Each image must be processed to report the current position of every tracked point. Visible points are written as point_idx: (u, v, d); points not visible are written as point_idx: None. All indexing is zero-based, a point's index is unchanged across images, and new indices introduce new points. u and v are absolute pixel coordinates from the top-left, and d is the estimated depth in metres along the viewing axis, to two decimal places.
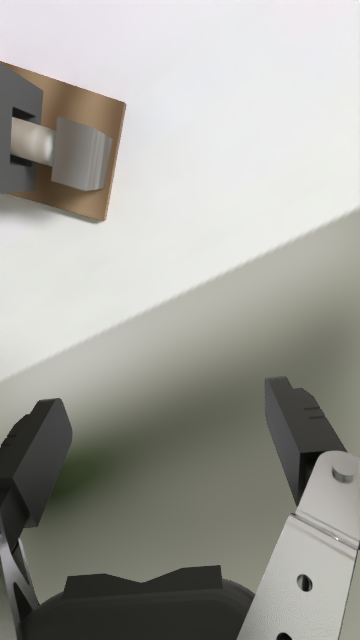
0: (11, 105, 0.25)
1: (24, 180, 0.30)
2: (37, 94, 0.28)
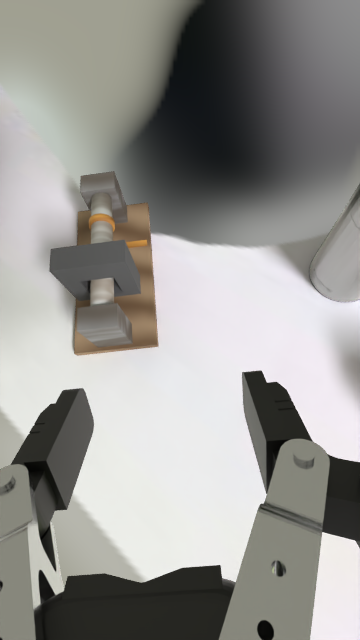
0: (113, 276, 0.39)
1: (79, 292, 0.42)
2: (135, 290, 0.43)
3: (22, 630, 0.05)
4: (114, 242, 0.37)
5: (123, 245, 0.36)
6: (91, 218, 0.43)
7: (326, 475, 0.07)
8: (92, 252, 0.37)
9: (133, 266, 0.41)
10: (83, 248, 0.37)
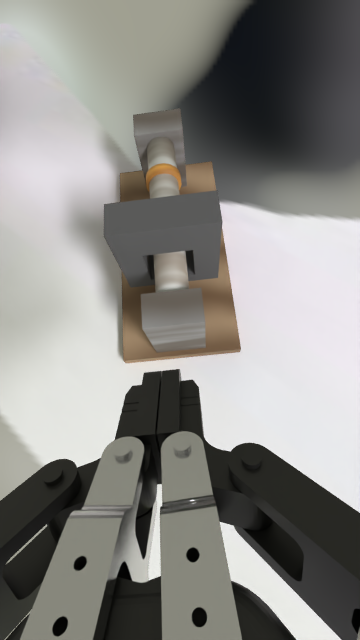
0: (193, 248, 0.26)
1: (135, 274, 0.29)
2: (212, 272, 0.30)
3: (83, 628, 0.05)
4: (201, 194, 0.24)
5: (216, 198, 0.24)
6: (151, 170, 0.31)
7: (195, 463, 0.08)
8: (168, 209, 0.24)
9: None
10: (154, 202, 0.24)
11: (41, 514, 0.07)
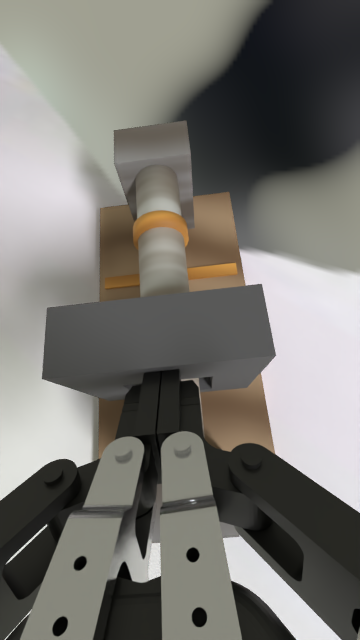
0: (212, 375, 0.15)
1: (114, 395, 0.18)
2: (239, 385, 0.19)
3: (83, 629, 0.05)
4: (230, 291, 0.13)
5: (261, 302, 0.12)
6: (141, 221, 0.19)
7: (195, 463, 0.08)
8: (169, 322, 0.12)
9: None
10: (141, 307, 0.13)
11: (41, 514, 0.07)
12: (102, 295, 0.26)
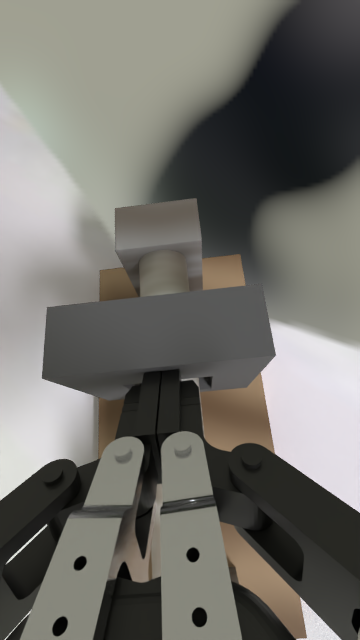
0: (212, 375, 0.15)
1: (114, 394, 0.18)
2: (239, 385, 0.19)
3: (83, 628, 0.05)
4: (230, 291, 0.13)
5: (261, 302, 0.12)
6: None
7: (195, 463, 0.08)
8: (169, 322, 0.12)
9: None
10: (140, 307, 0.13)
11: (42, 514, 0.07)
12: None
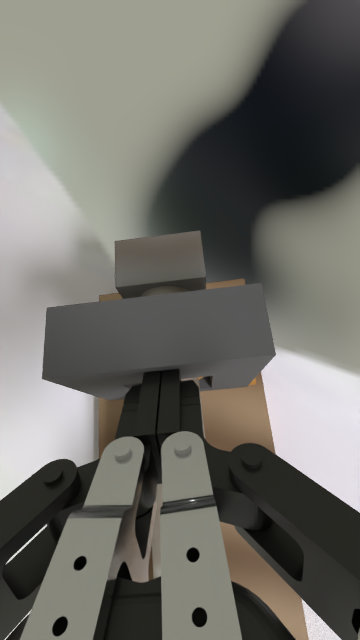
0: (212, 375, 0.15)
1: (114, 394, 0.18)
2: (239, 385, 0.19)
3: (83, 628, 0.05)
4: (230, 290, 0.13)
5: (260, 301, 0.12)
6: None
7: (195, 463, 0.08)
8: (169, 321, 0.12)
9: None
10: (140, 307, 0.13)
11: (41, 514, 0.07)
12: (102, 407, 0.23)
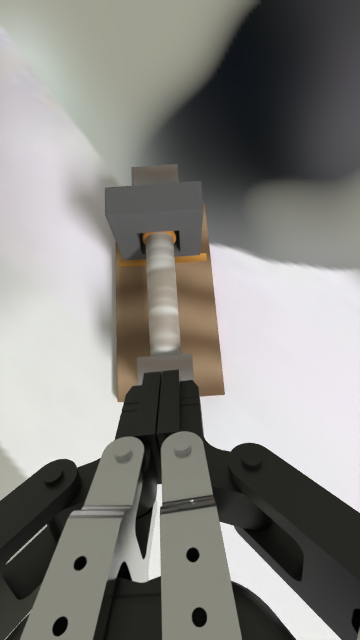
0: (179, 229, 0.31)
1: (129, 249, 0.34)
2: (195, 250, 0.36)
3: (84, 627, 0.05)
4: (187, 183, 0.29)
5: (199, 188, 0.29)
6: None
7: (195, 463, 0.08)
8: (160, 195, 0.29)
9: None
10: (147, 188, 0.29)
11: (41, 514, 0.07)
12: (118, 271, 0.39)
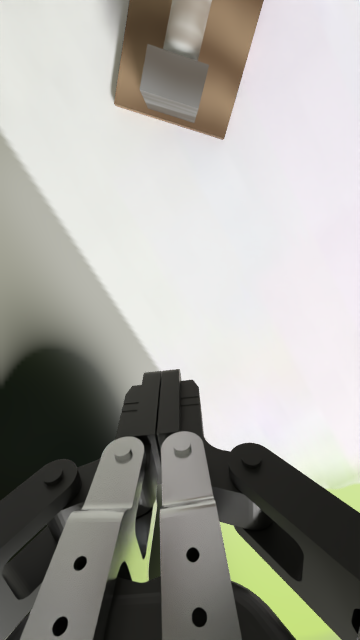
0: None
1: None
2: None
3: (84, 627, 0.05)
4: None
5: None
6: None
7: (195, 463, 0.08)
8: None
9: None
10: None
11: (41, 514, 0.07)
12: None
